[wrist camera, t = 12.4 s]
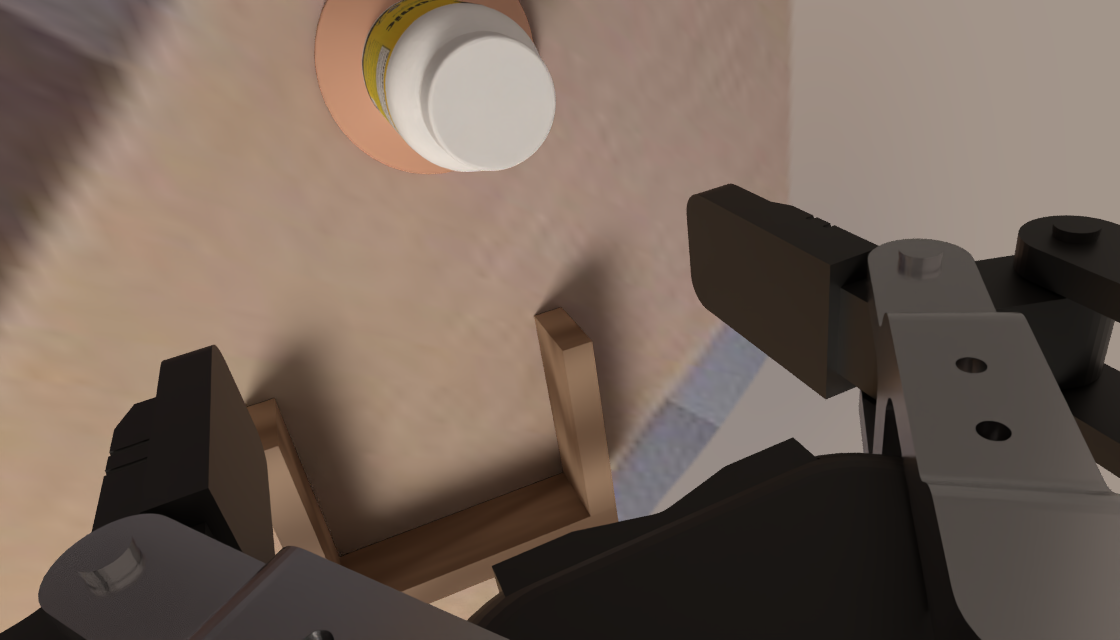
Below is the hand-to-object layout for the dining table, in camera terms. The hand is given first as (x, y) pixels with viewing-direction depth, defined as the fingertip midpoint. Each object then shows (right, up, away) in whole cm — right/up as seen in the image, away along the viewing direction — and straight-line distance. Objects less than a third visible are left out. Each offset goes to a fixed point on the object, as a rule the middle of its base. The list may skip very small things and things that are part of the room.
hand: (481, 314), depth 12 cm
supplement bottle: (-4, +10, +18) cm, 21 cm away
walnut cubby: (-5, -7, +27) cm, 28 cm away
